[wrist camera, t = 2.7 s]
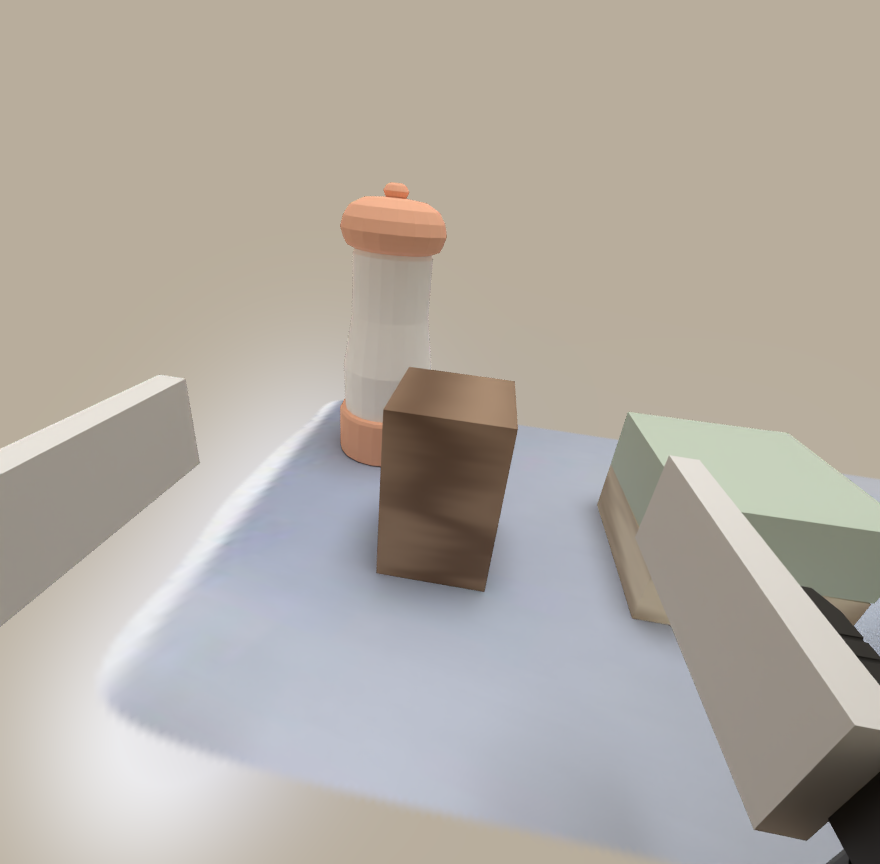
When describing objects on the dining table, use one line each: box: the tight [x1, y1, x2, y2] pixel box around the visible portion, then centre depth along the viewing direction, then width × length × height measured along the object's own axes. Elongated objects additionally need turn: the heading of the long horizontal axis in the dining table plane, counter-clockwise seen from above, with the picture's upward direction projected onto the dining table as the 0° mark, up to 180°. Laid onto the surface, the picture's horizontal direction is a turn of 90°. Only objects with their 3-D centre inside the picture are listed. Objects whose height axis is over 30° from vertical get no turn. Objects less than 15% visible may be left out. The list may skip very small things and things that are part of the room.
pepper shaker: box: [340, 182, 447, 466], centre depth 32 cm, size 7×7×19 cm
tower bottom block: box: [597, 465, 871, 626], centre depth 26 cm, size 10×10×4 cm
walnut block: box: [376, 367, 518, 592], centre depth 24 cm, size 6×6×10 cm
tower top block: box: [611, 412, 880, 603], centre depth 24 cm, size 10×10×4 cm
